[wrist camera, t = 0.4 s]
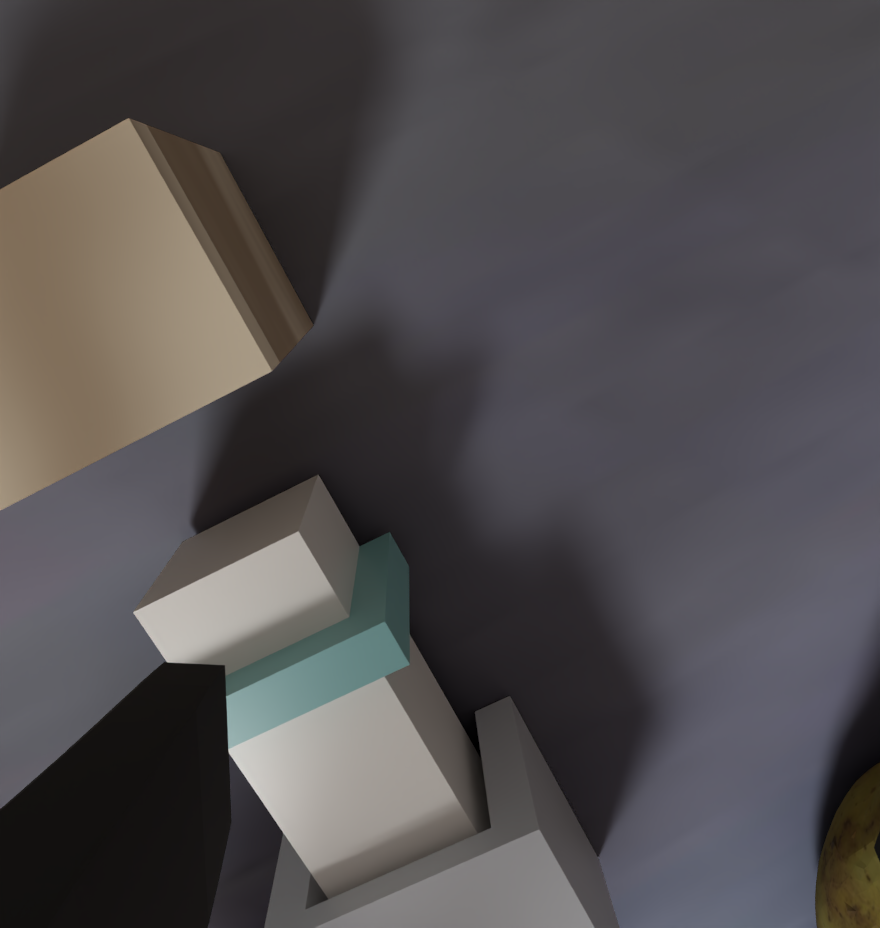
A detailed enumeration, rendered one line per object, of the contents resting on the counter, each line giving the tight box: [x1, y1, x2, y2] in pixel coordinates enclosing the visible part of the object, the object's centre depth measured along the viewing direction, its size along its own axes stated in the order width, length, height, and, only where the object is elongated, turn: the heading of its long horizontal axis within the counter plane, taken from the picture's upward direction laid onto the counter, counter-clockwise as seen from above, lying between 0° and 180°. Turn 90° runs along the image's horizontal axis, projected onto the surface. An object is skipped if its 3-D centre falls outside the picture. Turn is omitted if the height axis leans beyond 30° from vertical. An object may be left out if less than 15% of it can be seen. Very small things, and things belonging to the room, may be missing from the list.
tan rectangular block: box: [0, 118, 314, 510], centre depth 15 cm, size 7×4×6 cm, turn 116°
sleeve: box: [264, 696, 619, 928], centre depth 20 cm, size 6×6×5 cm
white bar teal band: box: [133, 475, 491, 899], centre depth 18 cm, size 5×12×4 cm, turn 26°
